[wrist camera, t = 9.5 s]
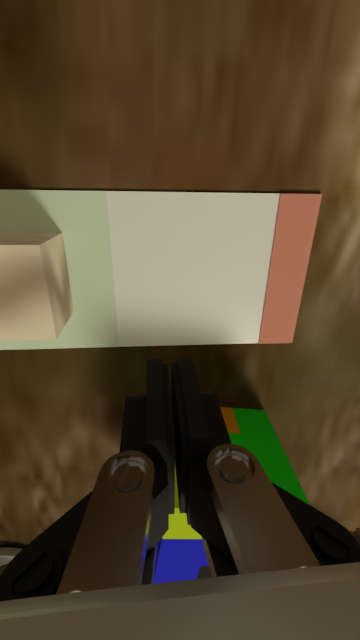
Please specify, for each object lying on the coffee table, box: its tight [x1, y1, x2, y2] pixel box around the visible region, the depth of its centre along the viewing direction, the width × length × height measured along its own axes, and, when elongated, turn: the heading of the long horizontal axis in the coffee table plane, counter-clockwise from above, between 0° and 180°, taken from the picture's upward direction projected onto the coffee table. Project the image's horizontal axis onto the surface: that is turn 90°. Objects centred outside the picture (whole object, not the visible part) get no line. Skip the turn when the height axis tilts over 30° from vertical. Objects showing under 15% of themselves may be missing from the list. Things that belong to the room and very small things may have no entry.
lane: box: [0, 190, 280, 350], centre depth 22 cm, size 12×24×1 cm, turn 89°
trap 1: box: [259, 193, 322, 344], centre depth 23 cm, size 12×3×1 cm, turn 179°
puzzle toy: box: [153, 407, 310, 584], centre depth 26 cm, size 10×10×10 cm
